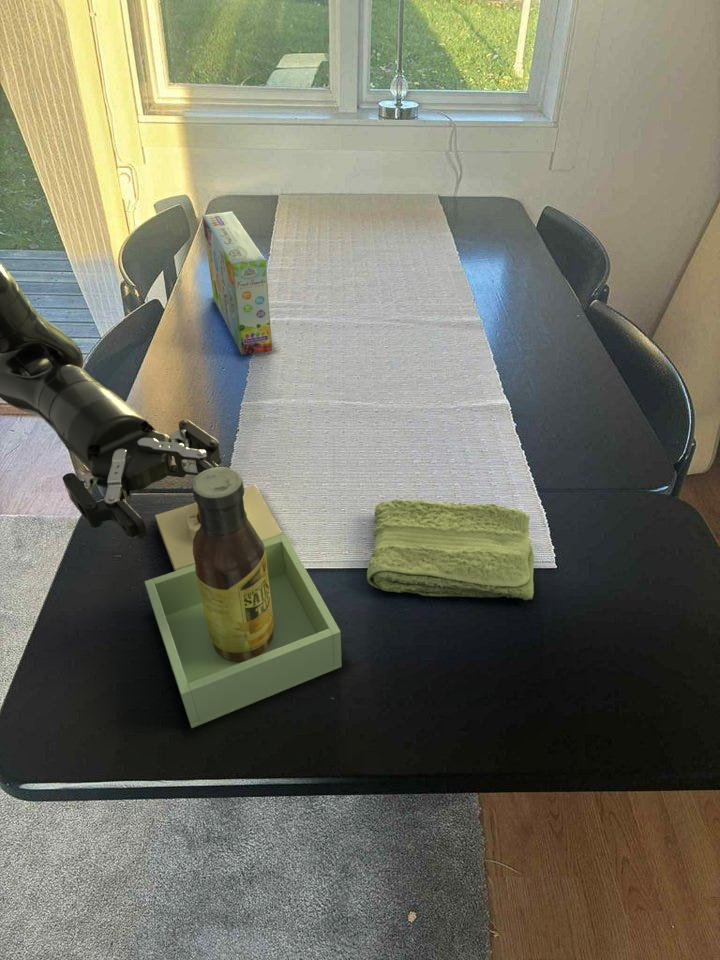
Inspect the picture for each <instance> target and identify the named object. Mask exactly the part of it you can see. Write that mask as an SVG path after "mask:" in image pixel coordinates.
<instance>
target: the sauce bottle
mask: <svg viewBox="0 0 720 960" xmlns="http://www.w3.org/2000/svg"><path fill="white" fill-rule="evenodd" d="M244 488H245V486H244V480H243V478H242V475H241V474H240V473H239V472H238V471H237V470H235V469H233V468H231V467H226V466H219V467H215V468H210V469H208V470H205V471H203V472H201V473H200V474H198V475H197V476H195V477H194V479H193V481H192V484H191V490H192V495H193V498H194V501H195V502H196V503H197V504H198V509H199V513H200V524H201V526H200V528H199V530H197V531H196V534H195V537H194V539H193V556H194V560H195V572H196V577H197V581H198V586H199V591H200V595H201V600H202V605H203V610H204V615H205V619H206V624H207V628H208V633H209V637H210V639H211V641H212V643H213V646H214V648H215V650H216V652H217V653H218V654H219V655H220V656H222V657H223V658H224V659H228V660H230V661H236V662H240V661H241V662H243V661H247V660H249V659H252V658H255V657H257V656H259V655H261V654H262V653H263V652H264V651H265V650H266V649H267V647H268V646H269V645H270V642H271V640H272V638H273V637H272V636H273V627H274V620H273V612H272V604H271V595H270V586H269V578H268V570H267V562H266V553H265V546H264V543H263V542H262V540H261V539H260V537H259V536H258V534H257V533H256V531H255V529H254V528H253V526H252V525H251V523H250V522H249V520H248V518H247V514H246V512H245V508H244V501H243V495H244ZM195 502H194V503H195Z"/></svg>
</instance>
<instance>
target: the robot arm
mask: <svg viewBox="0 0 720 960" xmlns="http://www.w3.org/2000/svg"><path fill="white" fill-rule="evenodd" d="M83 367H84V356H83V353H82V351H81V348H80V347H79V345H78V344H77V342H75V340H74V339H72V338H71V337H70V336H69V335H68V334H67V333H65V331H63V330H62V329H60V328H59V327H57V326H56V325H55V324H53V323H51V322H50V321H48V320H47V318H45V317H43V315H41V313H39V312H38V311H37V309H36V308H35V307H34V306H33V305H32V303H31V302H30V301H29V299H28V298H27V296H26V294H25V293H24V292H23V291H22V289H21V288H20V286H19V284H18V283H17V282H16V280H15V279H14V277H13V276H12V275H11V273H10V272H9V270H8V269H7V268H6V266H5V265H4V264H3V263H2V262H1V261H0V399H1V400H3V401H4V402H5V403H7V404H8V405H10V406H11V407H13V408H16V409H17V410H20V411H22V412H25V413H27V414H30V415H33V416H36V417H39V418H41V419H43V420H44V421H45V422H46V424H48V426H49V427H50V428H51V429H52V430H53V431H54V432H55V433H56V435H57V437H58V439H60V441H61V442H62V444H63V445H64V446H65V448H66V449H67V450H68V452H69V453H71V454H73V455H74V457H76V459H78V461H79V462H81V463H82V465H84V466H85V467H86V468H87V469H88V471H89V472H86V473H84V474H81V475H79V476H77V474H76V473H74V472H69V473H66V474H64V475H63V476H62V482H63V484H64V486H65V489H66V491H67V494H68V497H69V499H70V501H71V502H72V504H73V505H74V506H75V508H76V509H77V510H78V512H79V513H80V515H81V516H82V517H83V518H84V520H85V521H86V522H87V525H88V526H89V527H90V528H92V529H93V528H94V529H96V528H100V527H102V525H103V524H104V522H107V521H111V522H113V523H115V524H117V526H118V527H119V528H120V529H121V530H122V531H123V532H124V533H125V534H126V536H127V537H130V538H135V537H137V538H138V539H139V540H143V539H145V538H147V537H148V536H149V533H148V530H147V526H146V523H145V521H144V519H143V518H142V517H141V516H140V515H139V513H137V512H136V511H135V509H133V507H131V505H130V502H131V498H132V494H133V491H138V492H140V491H142V490H145V489H146V488H148V487H149V486H150V485H152V484H153V483H157V482H160V481H162V480H164V479H166V478H167V477H173V478H182V479H183V478H185V477H186V476H195V477H196V476H197V475H198V474H200V473H201V472H203V471H205V470H208V469H210V468H215V467H220V466H219V465H221V464H222V462H223V460H222V456H221V451H220V442H219V441H218V440H217V439H216V438H215V437H213V436H212V435H211V434H209V433H208V432H206V431H205V430H204V429H202V428H200V427H199V426H198V425H196V424H195V423H193V422H192V421H190V420H189V419H182V420H180V421H179V422H178V424H177V425H178V429H177V430H175V431H173V432H171V433H169V434H166V433H162V432H160V431H158V430H156V429H155V428H154V426H153V425H152V424H151V423H150V422H149V421H148V420H147V419H145V418H144V417H143V416H142V415H141V414H140V413H139V412H138V411H136V410H135V409H134V408H133V407H132V406H131V405H129V403H128V402H126V401H125V400H123V399H122V398H121V397H120V396H119V395H118V394H116V393H115V392H114V391H112V390H110V389H109V388H107V387H105V386H104V385H103V384H101V382H100V381H99V380H97V379H96V378H95V377H93V376H92V375H91V373H89V372H88V371H86V370H84V369H83ZM173 458H174V462H175V464H172V461H173ZM190 461H192V462H193V461H195V463H192V462H190ZM95 485H96V486H99V487H101V488H107V489H106V493H105V497H104V500H100V501H97V500H96V499H95V498H94V497H93V495H92V494H93V492H94V489H93V488H94V486H95Z"/></svg>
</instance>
